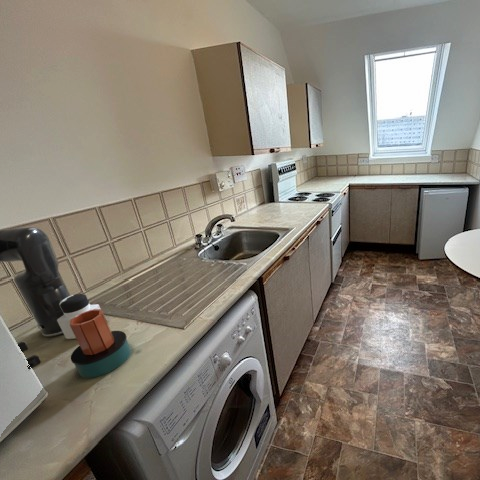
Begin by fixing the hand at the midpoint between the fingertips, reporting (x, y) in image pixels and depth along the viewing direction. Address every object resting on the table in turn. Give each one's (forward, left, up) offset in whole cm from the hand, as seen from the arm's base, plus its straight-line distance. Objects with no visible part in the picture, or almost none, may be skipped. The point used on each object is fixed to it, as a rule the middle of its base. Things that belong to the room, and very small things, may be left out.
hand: (32, 351), depth 57 cm
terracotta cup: (-3, +10, -7) cm, 12 cm away
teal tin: (-3, +10, -12) cm, 16 cm away
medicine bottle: (-23, +6, -12) cm, 27 cm away
